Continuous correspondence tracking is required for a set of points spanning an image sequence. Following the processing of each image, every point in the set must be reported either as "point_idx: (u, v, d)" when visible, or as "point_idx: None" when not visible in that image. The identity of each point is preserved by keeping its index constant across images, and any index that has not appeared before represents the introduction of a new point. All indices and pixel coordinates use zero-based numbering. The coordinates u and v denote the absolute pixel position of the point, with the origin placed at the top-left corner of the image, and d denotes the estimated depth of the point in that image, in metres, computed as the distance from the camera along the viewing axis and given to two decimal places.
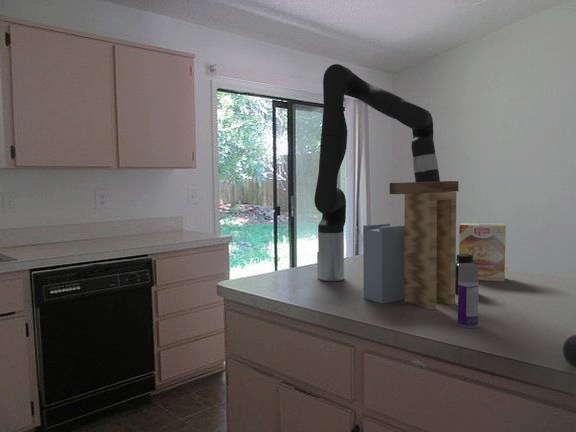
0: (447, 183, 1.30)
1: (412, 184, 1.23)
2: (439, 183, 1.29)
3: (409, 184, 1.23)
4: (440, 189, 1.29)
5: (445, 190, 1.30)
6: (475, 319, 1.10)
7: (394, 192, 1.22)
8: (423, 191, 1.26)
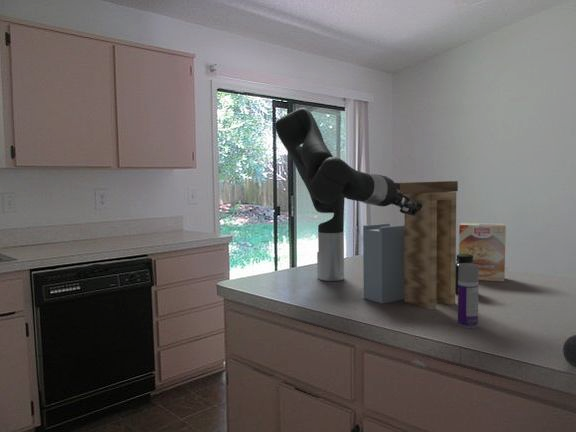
0: (447, 183, 1.30)
1: (413, 184, 1.23)
2: (439, 183, 1.29)
3: (410, 184, 1.22)
4: (440, 189, 1.29)
5: (445, 190, 1.30)
6: (475, 319, 1.10)
7: None
8: (424, 191, 1.25)
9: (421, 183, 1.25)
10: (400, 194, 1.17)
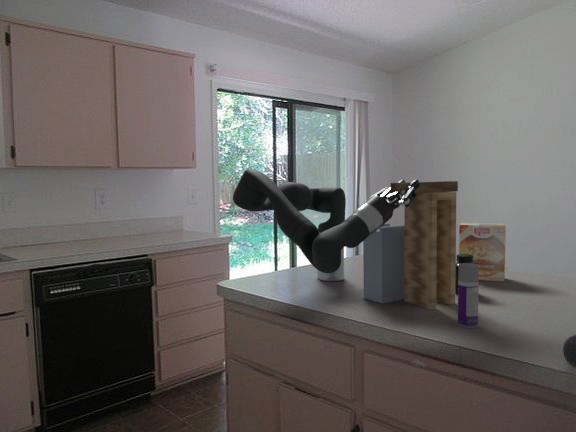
0: (447, 183, 1.30)
1: None
2: (439, 183, 1.29)
3: None
4: (440, 189, 1.29)
5: (445, 190, 1.30)
6: (475, 319, 1.10)
7: None
8: (424, 191, 1.25)
9: (421, 183, 1.25)
10: (393, 195, 1.19)
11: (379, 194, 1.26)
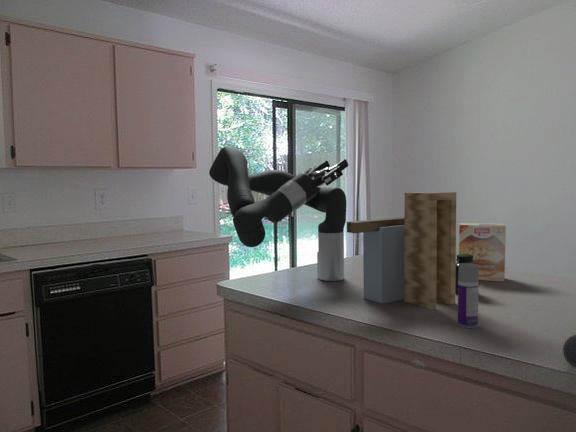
0: (403, 220, 1.38)
1: (368, 223, 1.30)
2: (395, 220, 1.36)
3: (365, 223, 1.30)
4: None
5: None
6: (475, 319, 1.10)
7: (351, 231, 1.29)
8: None
9: (376, 221, 1.32)
10: (318, 173, 1.23)
11: (305, 174, 1.31)
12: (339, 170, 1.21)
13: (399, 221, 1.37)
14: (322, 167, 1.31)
